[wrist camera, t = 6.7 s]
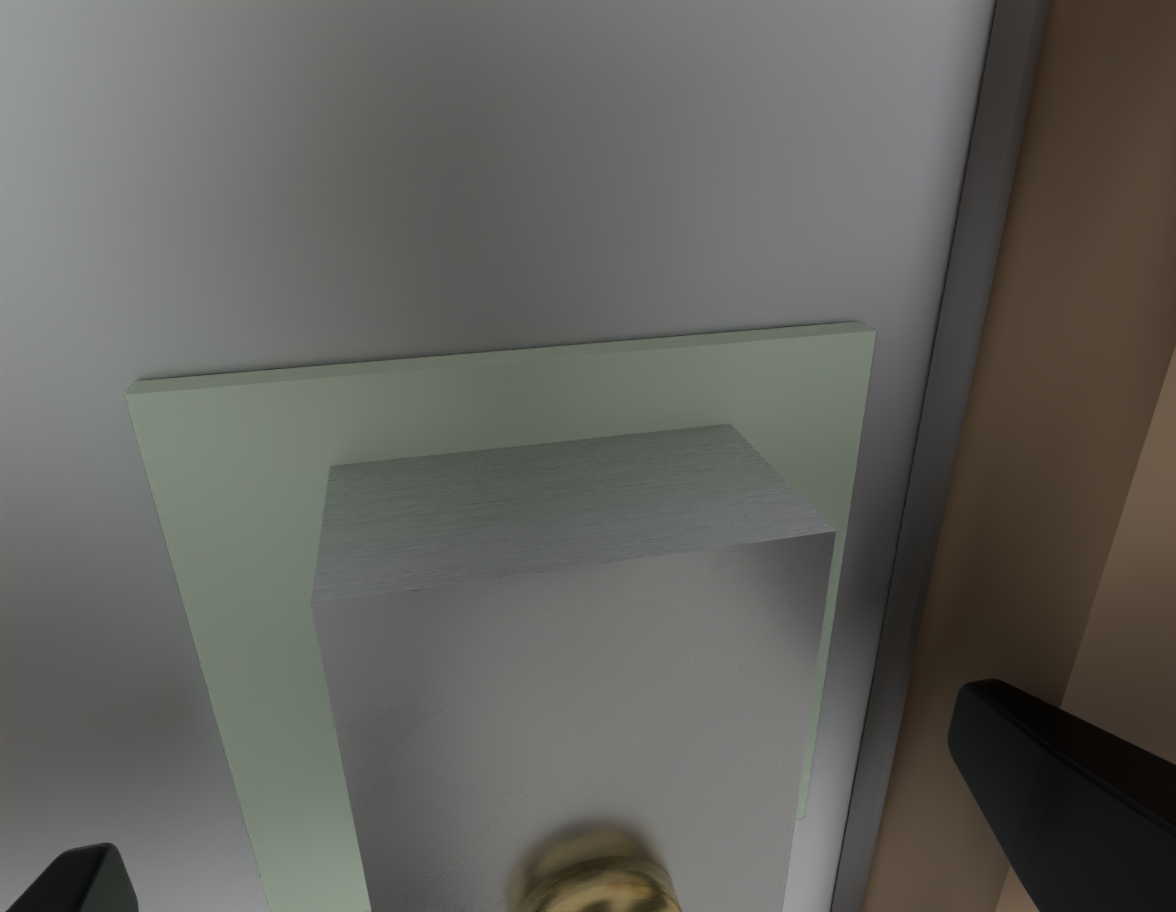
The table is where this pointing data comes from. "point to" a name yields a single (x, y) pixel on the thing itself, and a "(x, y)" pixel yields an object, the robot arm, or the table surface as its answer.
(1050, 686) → the plane body
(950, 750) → the robot arm
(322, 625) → the white block brass knob
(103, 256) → the table surface
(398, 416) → the felt pad
